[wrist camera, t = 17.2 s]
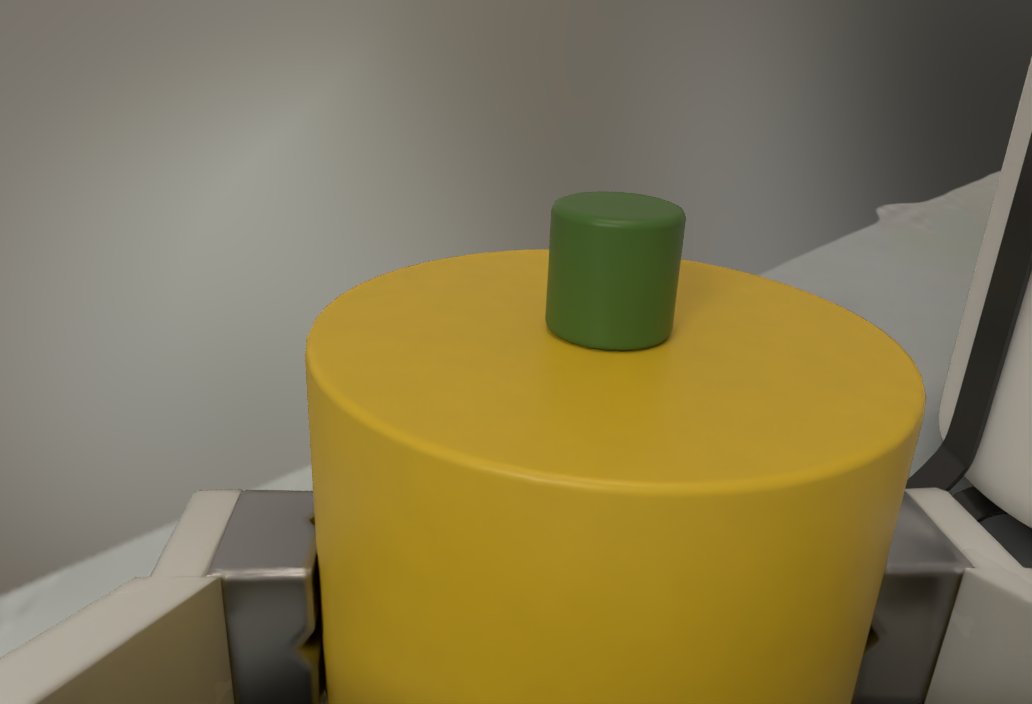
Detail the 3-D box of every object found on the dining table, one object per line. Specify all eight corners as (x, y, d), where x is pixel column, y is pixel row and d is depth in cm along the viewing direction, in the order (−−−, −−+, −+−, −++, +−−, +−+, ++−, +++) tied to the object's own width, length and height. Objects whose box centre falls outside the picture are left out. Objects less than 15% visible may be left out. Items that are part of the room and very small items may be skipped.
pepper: (267, 1109, 9) (162, 269, 5) (404, 705, 14) (397, 137, 10) (815, 1219, 8) (1108, 352, 5) (750, 753, 13) (868, 168, 10)
